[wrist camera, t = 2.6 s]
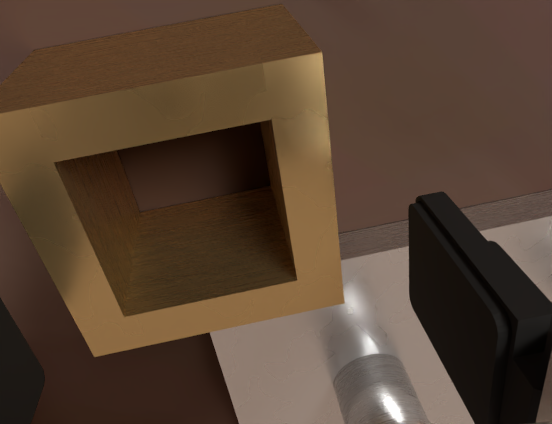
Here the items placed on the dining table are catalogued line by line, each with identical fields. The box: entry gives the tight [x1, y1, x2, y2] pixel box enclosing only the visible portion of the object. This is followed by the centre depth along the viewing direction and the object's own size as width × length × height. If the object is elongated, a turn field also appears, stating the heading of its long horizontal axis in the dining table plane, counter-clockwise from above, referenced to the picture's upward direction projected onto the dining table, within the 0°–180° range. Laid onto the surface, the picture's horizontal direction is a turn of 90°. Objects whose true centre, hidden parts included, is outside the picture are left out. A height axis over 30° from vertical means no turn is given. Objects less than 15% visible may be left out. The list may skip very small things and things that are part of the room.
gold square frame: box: [0, 4, 344, 357], centre depth 14 cm, size 7×7×5 cm
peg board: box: [210, 190, 552, 424], centre depth 20 cm, size 14×24×8 cm, turn 98°
